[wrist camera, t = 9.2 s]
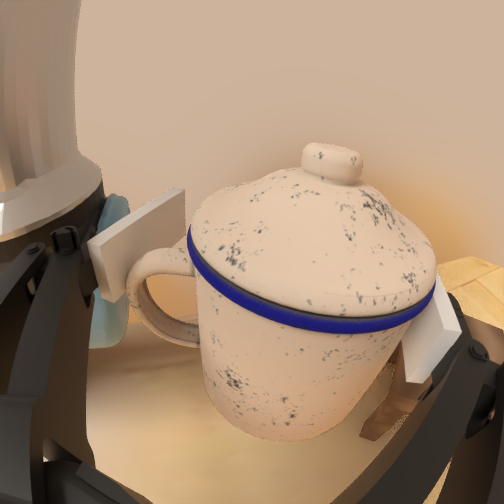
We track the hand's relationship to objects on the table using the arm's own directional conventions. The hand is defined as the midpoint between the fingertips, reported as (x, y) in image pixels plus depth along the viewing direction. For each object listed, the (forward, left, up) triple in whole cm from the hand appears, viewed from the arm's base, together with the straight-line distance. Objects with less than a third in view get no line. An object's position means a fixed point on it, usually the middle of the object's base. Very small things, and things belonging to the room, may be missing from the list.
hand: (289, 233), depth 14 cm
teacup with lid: (+1, -4, -7) cm, 8 cm away
